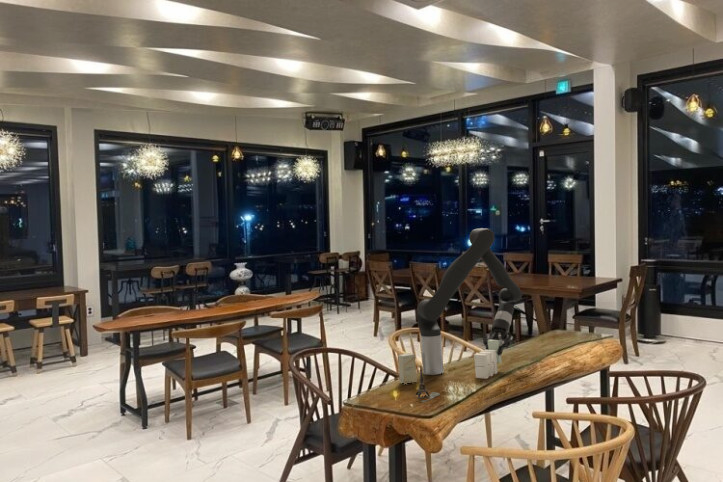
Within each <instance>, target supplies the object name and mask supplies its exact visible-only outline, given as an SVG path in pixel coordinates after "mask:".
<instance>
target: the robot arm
mask: <svg viewBox="0 0 723 482" xmlns="http://www.w3.org/2000/svg"><path fill="white" fill-rule="evenodd" d="M495 238H496V237H495V233H494V231H492V230H491V228H483V227H481V228H475V229H472V230H471V232H470V234H469V242H470V244H471V245H470V246H469V247H468V249H467V250H466V251H465V252H464V253H462V254H461V255H459V256H458V257H457V258H456V259H454V260H453V262H451V264H450V265H449V266H448V268H447V269H446V271H445V272H444V274H443V276H442V278H441V281H440V283H439V287H438V288H437V290H436V292H435V293H434V294H433V296H432V297H430V299H423V300H420V302H419V303H418V304H417V308H416V311H417V312H416V314H417V315H416V316H417V325H418V329H419V332H420V333H419V334H420V344H421V347H420V348H421V359H422V360H421V361H422V375H427V376H428V375H429V376H434V375H441V373H442V374H444V372H445V371H444V361H443V360H444V357H443V346H442V345H443V343H442V333H441V332H442V331H441V328H440V326H439V323H438V319H439V318H441V315H442V314H443V313H444V310H445V309H446V307H447V305H448V303H449V302H450V301H451V299H452V297H453V296H454V295H455V294H456V292H457V291H458V289H460V287H461V286H462V284H463V283H464V281H465V280H466V279H467V277H468V276H469V274H470V273H471V271H473V269H474V268H475V266H476V265H477V263H478V262H479V260H480V259H481V260H482V261H483V262H484V264H485V265H486V268H488V270H489V273H490V274H491V276H492V278H493V280H494V282H495V283H496V286H498V287H501V288H502V289H501V290H500V291H499V293H498V308H497V311H496V314H495V316H494V319H493V322H492V323H493V324H492V327H491V330H490V332H489V333H486V332H484V333H483V338H482V339H483V341H482V342H483V343H482V344H483V345H484V347H485V349H484V350H489V349H488V340H500V346H499V348H498V351H497V354H498V355H499V356H500V355H501V356H502V354H503V351H504V349H505V348H506V349H507V348H509V346H510V345H511V343H512V342H513V340H514V337H513V335H512V333H509V331H510V327H511V325H512V319H513V314H514V311H515V306H514V305H513V303H514V302H515V303H516V302H519V301H521V299H522V297H523V293H522V290H521V289H520V287H519V285H517V283H516V282H514V280H513V279H512V278H511V277H510V275H509V273H508V271H507V269H506V267H505V266H504V264H503V263H502V262H501V260H500V259H498V257H497V256H496V255H495V254H494V252H493V251H492V249H491V247H492V245H493V244H494V241H495ZM508 333H509V334H508Z"/></svg>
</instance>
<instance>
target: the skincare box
mask: <svg viewBox="0 0 723 482" xmlns="http://www.w3.org/2000/svg"><path fill="white" fill-rule="evenodd" d="M397 357H398V358H397V359H398V374H399V383H400V382H401V383H400V384H402V383H404V384H403V385H405V384H406V385H408V384H407V383H411V382H416V383H417V382H418V381H417V379H418V378H417V367H416V365H417V364H416V354H415V353H411V352H410V353H404V354H403V353H402V354H398V355H397Z"/></svg>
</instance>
